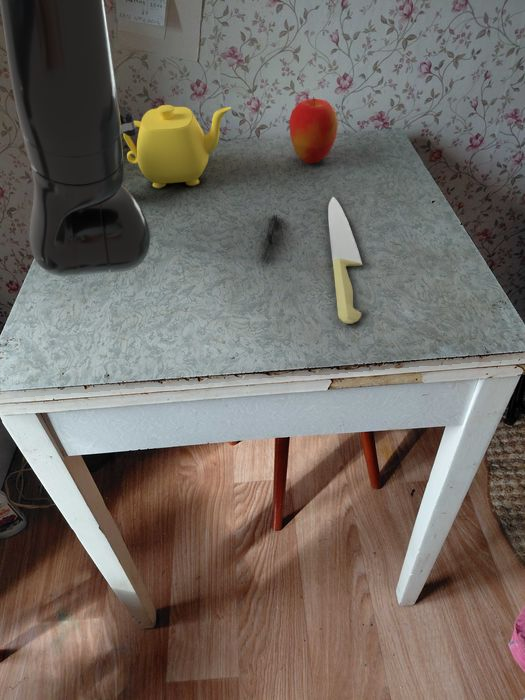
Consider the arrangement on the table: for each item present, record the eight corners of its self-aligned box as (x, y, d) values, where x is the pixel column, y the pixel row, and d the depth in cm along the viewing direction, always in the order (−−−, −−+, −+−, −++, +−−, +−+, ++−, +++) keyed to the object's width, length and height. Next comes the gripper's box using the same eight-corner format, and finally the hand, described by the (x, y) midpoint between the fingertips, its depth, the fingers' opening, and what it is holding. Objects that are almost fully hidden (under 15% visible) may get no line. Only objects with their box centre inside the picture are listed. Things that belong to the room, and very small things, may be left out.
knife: (351, 195, 93) (325, 192, 93) (374, 322, 70) (340, 318, 70) (349, 202, 94) (324, 199, 94) (371, 329, 71) (337, 325, 71)
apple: (327, 174, 100) (331, 109, 91) (282, 167, 102) (282, 103, 94) (340, 152, 106) (345, 89, 97) (297, 146, 108) (298, 84, 99)
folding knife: (266, 267, 81) (266, 257, 79) (259, 267, 81) (259, 256, 79) (278, 220, 89) (277, 210, 88) (271, 220, 90) (271, 210, 88)
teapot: (135, 161, 106) (120, 95, 97) (234, 154, 107) (229, 88, 98) (128, 196, 97) (111, 127, 88) (237, 188, 97) (231, 119, 88)
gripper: (138, 116, 59) (124, 67, 71) (5, 136, 57) (13, 82, 68) (151, 178, 64) (136, 123, 76) (30, 199, 62) (33, 139, 74)
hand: (78, 104), depth 72 cm, fingers closed on tube, 4 cm apart
